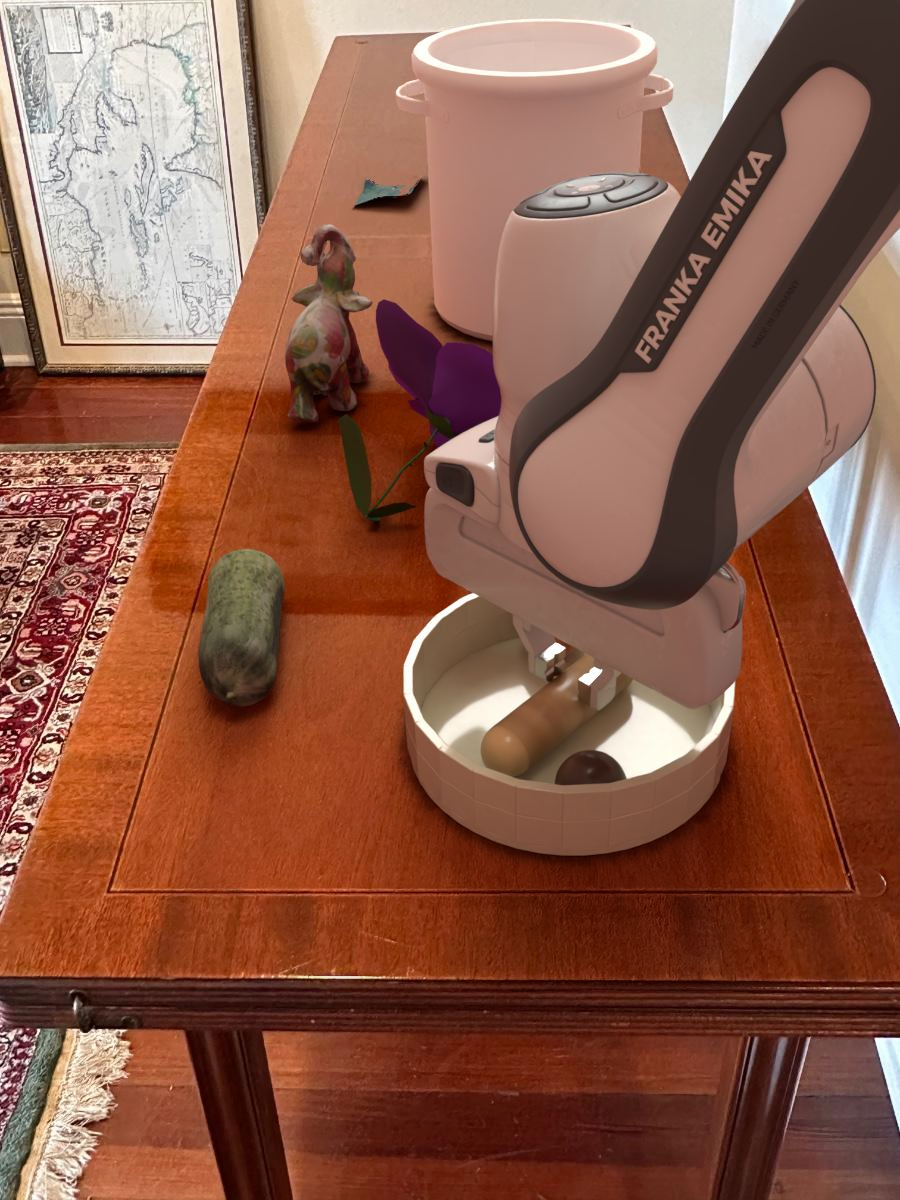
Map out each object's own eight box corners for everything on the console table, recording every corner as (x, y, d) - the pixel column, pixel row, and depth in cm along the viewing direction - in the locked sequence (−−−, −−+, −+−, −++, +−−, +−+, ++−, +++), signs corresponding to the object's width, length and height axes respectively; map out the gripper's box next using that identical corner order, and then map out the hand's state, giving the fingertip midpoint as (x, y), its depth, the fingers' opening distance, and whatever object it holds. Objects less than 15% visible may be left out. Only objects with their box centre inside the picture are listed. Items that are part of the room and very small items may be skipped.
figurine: (398, 383, 110) (386, 223, 101) (316, 438, 103) (296, 271, 94) (333, 364, 114) (316, 208, 105) (250, 416, 106) (224, 253, 97)
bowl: (733, 653, 78) (741, 592, 75) (716, 881, 63) (726, 817, 60) (448, 620, 82) (445, 560, 79) (370, 827, 67) (363, 764, 64)
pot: (398, 355, 115) (379, 79, 100) (418, 266, 133) (404, 20, 118) (666, 353, 113) (688, 72, 98) (650, 263, 131) (666, 13, 116)
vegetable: (216, 595, 85) (205, 537, 82) (289, 590, 85) (281, 532, 82) (196, 729, 74) (183, 668, 71) (280, 723, 74) (270, 662, 71)
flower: (466, 600, 92) (567, 468, 95) (389, 491, 80) (507, 344, 83) (340, 530, 100) (436, 411, 103) (253, 422, 88) (364, 291, 91)
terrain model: (412, 208, 147) (411, 193, 146) (351, 209, 149) (349, 194, 148) (432, 175, 157) (431, 160, 156) (375, 176, 159) (373, 162, 158)
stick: (599, 655, 77) (612, 623, 74) (637, 686, 76) (652, 655, 73) (464, 762, 70) (474, 730, 67) (504, 798, 68) (515, 767, 66)
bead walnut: (595, 778, 69) (651, 787, 66) (561, 832, 67) (617, 843, 64) (565, 731, 67) (621, 738, 64) (529, 784, 65) (585, 794, 62)
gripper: (784, 536, 59) (750, 739, 67) (477, 408, 70) (481, 595, 79) (711, 594, 55) (685, 801, 64) (401, 449, 67) (414, 640, 75)
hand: (570, 686), depth 71 cm, fingers closed on stick, 2 cm apart
